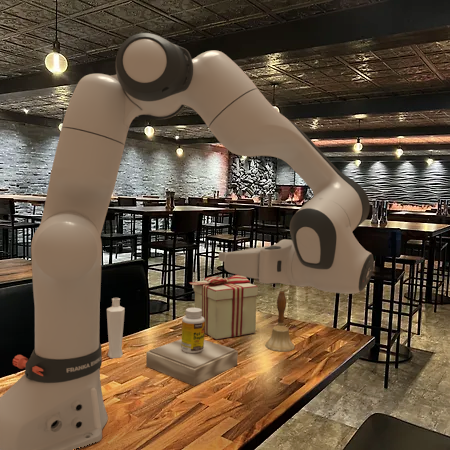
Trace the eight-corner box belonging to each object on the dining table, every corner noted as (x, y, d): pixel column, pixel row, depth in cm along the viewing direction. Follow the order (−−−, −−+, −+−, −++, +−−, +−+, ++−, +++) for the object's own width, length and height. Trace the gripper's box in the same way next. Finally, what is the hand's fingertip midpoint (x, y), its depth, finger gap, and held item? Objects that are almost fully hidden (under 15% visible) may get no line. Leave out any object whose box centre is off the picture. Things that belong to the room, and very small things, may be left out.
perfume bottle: (102, 357, 112) (103, 299, 110) (112, 351, 116) (112, 296, 115) (117, 360, 110) (118, 301, 109) (127, 354, 114) (128, 298, 113)
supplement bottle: (193, 356, 104) (194, 314, 103) (176, 350, 108) (177, 309, 107) (208, 349, 108) (209, 309, 108) (192, 344, 112) (193, 305, 111)
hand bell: (291, 353, 119) (294, 296, 117) (262, 349, 121) (264, 292, 120) (296, 343, 126) (299, 289, 125) (269, 339, 129) (271, 286, 128)
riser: (194, 385, 97) (194, 368, 97) (146, 366, 107) (146, 350, 107) (237, 364, 110) (237, 349, 109) (190, 348, 120) (191, 334, 119)
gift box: (224, 318, 150) (226, 268, 149) (259, 333, 135) (261, 278, 134) (181, 325, 140) (183, 272, 139) (214, 342, 125) (215, 283, 124)
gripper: (314, 242, 94) (261, 236, 103) (262, 250, 78) (204, 243, 87) (313, 271, 95) (260, 262, 103) (260, 285, 79) (203, 274, 87)
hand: (234, 253), depth 95 cm, fingers open, 8 cm apart
